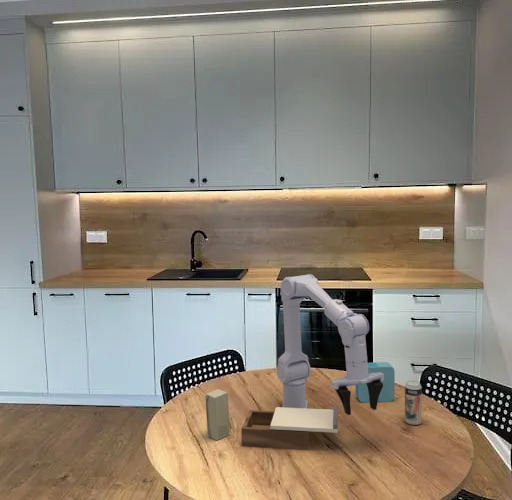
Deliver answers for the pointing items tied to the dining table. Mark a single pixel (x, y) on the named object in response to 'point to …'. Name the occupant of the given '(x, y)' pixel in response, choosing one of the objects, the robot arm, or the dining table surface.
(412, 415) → the beer can
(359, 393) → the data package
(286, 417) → the lid
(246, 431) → the walnut box
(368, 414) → the dining table surface
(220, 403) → the box
